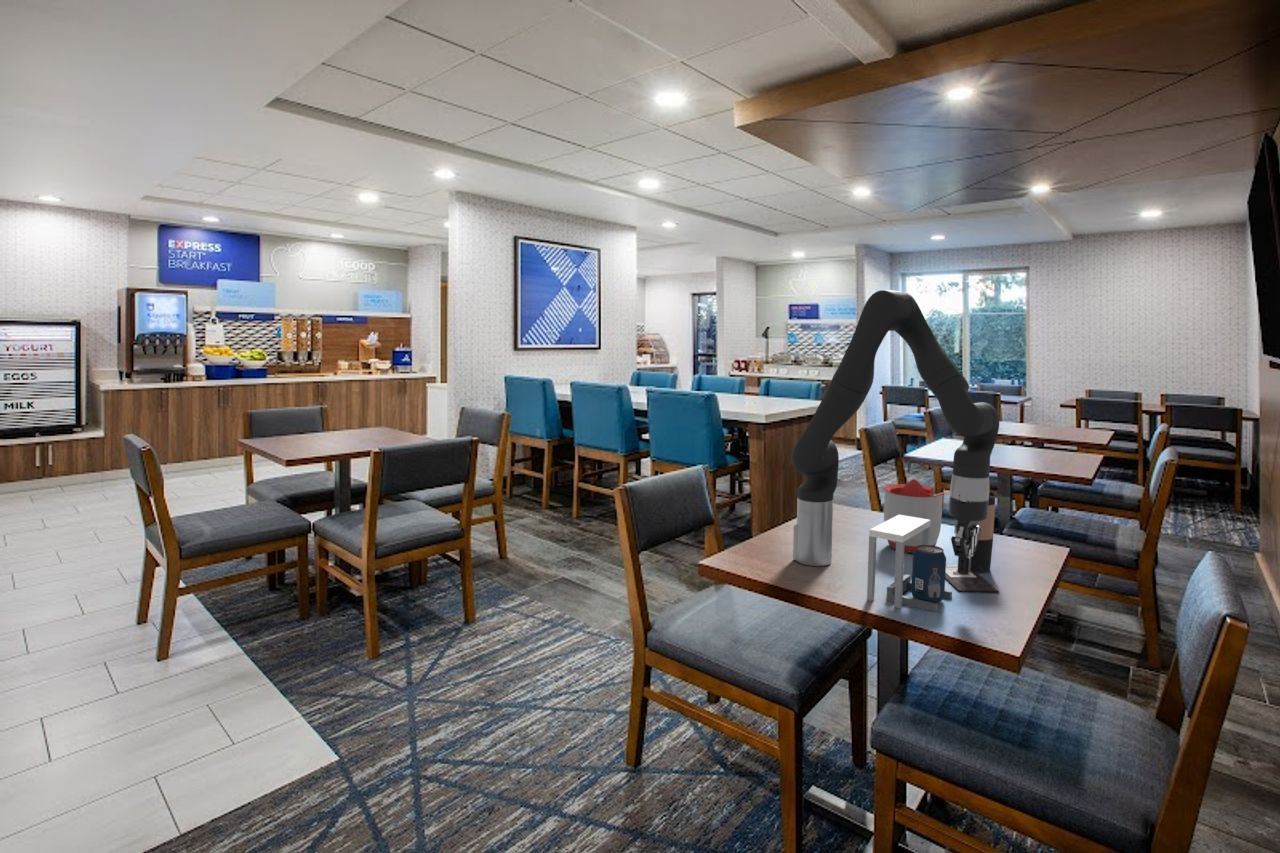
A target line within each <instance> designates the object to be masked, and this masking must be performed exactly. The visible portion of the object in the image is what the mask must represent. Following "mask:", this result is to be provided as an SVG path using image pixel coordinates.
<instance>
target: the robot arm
mask: <svg viewBox="0 0 1280 853" xmlns="http://www.w3.org/2000/svg"><path fill="white" fill-rule="evenodd" d="M891 331H892V332H896V334H897V335H899V336H900V337H901V338H902V340H904V341H905V343H906V344H907V345H908V346H909V348H910V350H911V352H912V354H913V357H914V361H915V365H916V369H917V370H918V373H919V376H920V377H921V379H922V380H923V382H924V383H925V385H926V386H927V387H928V389H929V390H930V392H931V393H932V394H933V396H934V397H935V399H937V401H938V403H939V407H940V409H941V411H942V414H943V417H944V420H946V422H947V424H948V426H949V427H950V429H951V430H952V431H953V432H954V433H956V434H957V435H958V436H959V437H962V438H963V441H962V444H961V445H960V446H959V447H958V448H956V449H955V450H954V454H953V462H952V474H951V475H952V476H951V481H950V486H949V503H948V515H949V517H952V518H954V519H956V520H957V522H956V525H954V532H953V533H954V534H955V535H954V536H951V538H950V541H951V546H952V551H953V553H954V554H953V555H954V556H956V557H957V558H958V559H957V565H958V570H957V571H958V573H960V574H964V575H967V574H969V573H970V568H971V557H972V556H973V552H975V551H976V546H977V542H978V539H979V535H980V531H981V527H979V526H977V524H978V521H983V520H986V519H987V516H988V503H989V491H990V467H991V456H992V453H993V449H994V447H995V443H996V440H997V438H998V433H999V429H1000V415H999V412H998V410H997V409H996V408H995V406H993V405H992V404H990V403H989V402H988V403H987V402H982V401H981V402H973V401H972V400H971V398H970V396H969V395H968V392H969V389H970V385H969V382H968V380H967V378H966V377H965V376H964V375H963V374H962V372H961V371H960V369H959V368H958V367H957V366H956V364H954V362H953V360H951V358H950V357H949V355H948V354H947V353H946V352H945V349H943V347H942V345H941V344H940V343H939V341H938V339H937V338H936V336H935V335H934V332H933V330H932V329H931V328H930V326H929V324H928V321H927V320H926V318H925V316H924V314H923V311H922V310H921V308H920V306H919V305H918V302H917V301H916V299H915V298H914V297H913V296H912V295H911V294H909V293H908V292H905V291H901V290H891V289H881V290H877V291H875V292H874V293H872V294H871V296H869V298H868V299H867V301H866V303H865V304H864V306H863V308H862V311H861V314H860V317H859V318H858V321H857V325H856V327H855V330H854V333H853V335H852V337H851V339H850V342H849V345H848V347H847V348H846V350H845V352H844V355H843V357H842V359H841V361H840V362H839V364H838V366H837V369H836V371H835V372H834V374H833V376H832V379H831V380H830V383H829V384H828V387H827V389H826V391H825V393H824V394H823V396H822V399H821V401H820V402H819V404H818V406H817V409H815V413H814V414H813V417H812V419H811V420H810V422H809V423H808V425H807V427H806V428H805V430H804V431H803V433H802V435H801V436H800V437H799V439H798V440H797V442H796V444H795V446H794V447H793V451H792V455H791V461H792V462H791V463H792V465H793V468H794V469H795V471H796V472H797V473H799V474H801V475H803V476H804V475H805V476H806V478H805V480H804V481H803V483H802V484H800V485H799V486H798V488H797V499H796V500H797V505H796V524H794V525H793V536H792V537H793V538H792V541H793V543H792V547H793V548H792V560H793V561H796V562H798V563H799V564H802V565H804V566H805V565H806V566H811V567H825V566H828V565H831V563H832V558H833V557H832V556H833V553H832V551H833V548H832V547H833V520H834V494H835V491H836V489H837V485H838V475H839V474H838V473H839V465H840V464H839V458H840V457H839V456H840V455H839V451H838V447H837V445H836V444H835V442H834V441H833V440H832V439H833V437H835V434H836V433H837V432H838V431H839V429H841V428H842V426H844V425H845V424H846V423H847V422H848V421H849V420H850V419H851V418H852V417H853V416H854V415H855V414H856V413H857V412H858V410H859V409H860V408H861V407H862V404H864V401H865V399H866V397H867V396H868V394H869V392H870V390H871V388H872V386H873V383H874V379H875V378H874V377H875V360H876V355H877V352H878V350H879V348H880V346H881V344H882V342H883V340H884V338H886V335H887V334H888V332H891Z"/></svg>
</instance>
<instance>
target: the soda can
mask: <svg viewBox="0 0 1280 853" xmlns="http://www.w3.org/2000/svg"><path fill="white" fill-rule="evenodd" d="M946 565H947V557H946V554H945V551H944V549H943V548H942V547H939V546H936V545H935V546H932V545H919V546H917V547H916V550H915V552H914V553H912V566H911V567H912V569H911V582H912V584H911V589H910V593H911V595H912V598H915V599H919V600H923V601H927V602H931V603H935V604H937V605H938V604H940V603H941V602H942V601H943V600H944V598H945V597H944V592H945V590H946V589H945V588H946V580H945V572H946Z"/></svg>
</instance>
